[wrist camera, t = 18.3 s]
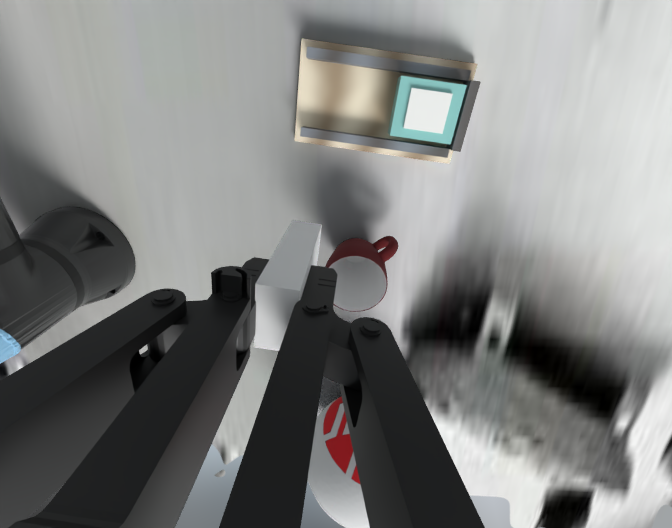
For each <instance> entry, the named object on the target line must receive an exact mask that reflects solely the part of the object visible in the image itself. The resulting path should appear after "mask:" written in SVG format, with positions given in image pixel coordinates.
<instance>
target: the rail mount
mask: <svg viewBox="0 0 672 528" xmlns="http://www.w3.org/2000/svg"><path fill="white" fill-rule="evenodd" d="M476 67H477V64H475V63H468V62H461V61H454V60H447V59H440V58H433V57H426V56H419V55H413V54H406V53H399V52H392V51H385V50H378V49H371V48H364V47H357V46H350V45H344V44H337V43H330V42H323V41H316V40H309V39H302V40H301V54H300V69H299V84H298V98H297V113H296V127H295V141H297V142H304V143H311V144H318V145H325V146H331V147H338V148H345V149H352V150H359V151H365V152H372V153H379V154H386V155H393V156H399V157H406V158H413V159H420V160H427V161H433V162H440V163H447V164H450V161H451V157H452V153H453V151H459V152H460V151H461V148H462V144H463V141H464V137H465V134H466V130H467V127H468V123H469V120H470V116H471V113H472V109H473V106H474V103H475V99H476V96H477V92H478V89H479V85H480V81H473V78H474V75H475V71H476ZM400 76H407V77H414V78H421V79H428V80H435V81H442V82H449V83H455V84H462V85H467V86H466V90H465V94H464V97H463V101H462V105H461V108H460V112H459V116H458V119H457V123H456V127H455V130H454V134H453V138H452V141H451V144H444V143H437V142H430V141H423V140H417V139H410V138H403V137H396V136H390V135H389V134H388V129H389V124H390V118H391V113H392V108H393V102H394V97H395V92H396V86H397V81H398V78H399V77H400Z"/></svg>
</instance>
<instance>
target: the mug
mask: <svg viewBox="0 0 672 528" xmlns="http://www.w3.org/2000/svg"><path fill="white" fill-rule="evenodd" d="M386 246H387V247H386ZM384 247H386V248H385V249H383V250H382V251H380V252H379V253H378V250H379V249H381V248H384ZM397 249H398V242H397V240H396V239H395V238H394V237H392V236H386V237H383V238H381V239H380V240H378V241H376V242H375V243H373V244H372V243H370V242H368V241H366V240H363V239H359V238H352V239H348V240H346V241H344V242H342V243H341V244H340V245H339V246H338V247H337V248H336V249H335V251H334V252H333V254H332V255H331V257H330V258H329V260H328V262H327V264H326V266H325V267H327V268H334V270H335V271H336V273H337V275H338V276H337V283H336V290H335V297H334V303H333V304H334V305H335V306H337V307H338V308H341V309H343V310H346V311H352V312H359V311H365V310H368V309H370V308H372V307H374V306H376V305H377V304H378V303H379V302H380V301H381V300H382V299H383V297H384V295H385V293H386V290H387V273H386V268H385V261H387V260H389V259H390V258H391V257H392V256H393V255H394V254H395V253H396V251H397Z"/></svg>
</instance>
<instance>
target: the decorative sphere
mask: <svg viewBox="0 0 672 528" xmlns="http://www.w3.org/2000/svg"><path fill="white" fill-rule="evenodd" d="M308 481H309V484H310V487H311V490H312V492H313V494H314V496H315V498H316V499H317V501H318V503H319V505H321V507H322V508H323V510H324V511H325V512H326V513H327V514H328V515H329V516H330V517H331V518H332V519H333V520H335V521H336V522H337V523H339V524H341V525H342V526H344V527H347V528H370V526H369V521H368V517H367V512H366V508H365V503H364V498H363V494H362V489H361V484H360V480H359V475H358V470H357V466H356V461H355V457H354V452H353V447H352V443H351V438H350V433H349V429H348V424H347V419H346V415H345V410H344V406H343V401H342V396H341V397H339V398H337V399H336V400H334V401H333V402H331V403H330V404H329V405H328V406H327V407H326V408H325V409H324V410H323V411H322V412H321V413H320V414H319V416H318V417H317V419H316V425H315V432H314V439H313V446H312V452H311V459H310V466H309V472H308Z"/></svg>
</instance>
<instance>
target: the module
mask: <svg viewBox="0 0 672 528" xmlns="http://www.w3.org/2000/svg"><path fill="white" fill-rule="evenodd" d="M466 86H467V85H462V84H455V83H449V82H442V81H435V80H428V79H421V78H414V77H407V76H400V77H399V78H398V81H397V86H396V92H395V97H394V102H393V108H392V113H391V118H390V124H389V129H388V134H389V135H390V136H396V137H403V138H410V139H417V140H423V141H430V142H437V143H444V144H451V141H452V138H453V134H454V130H455V127H456V123H457V119H458V116H459V112H460V108H461V105H462V101H463V97H464V94H465V90H466Z"/></svg>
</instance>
